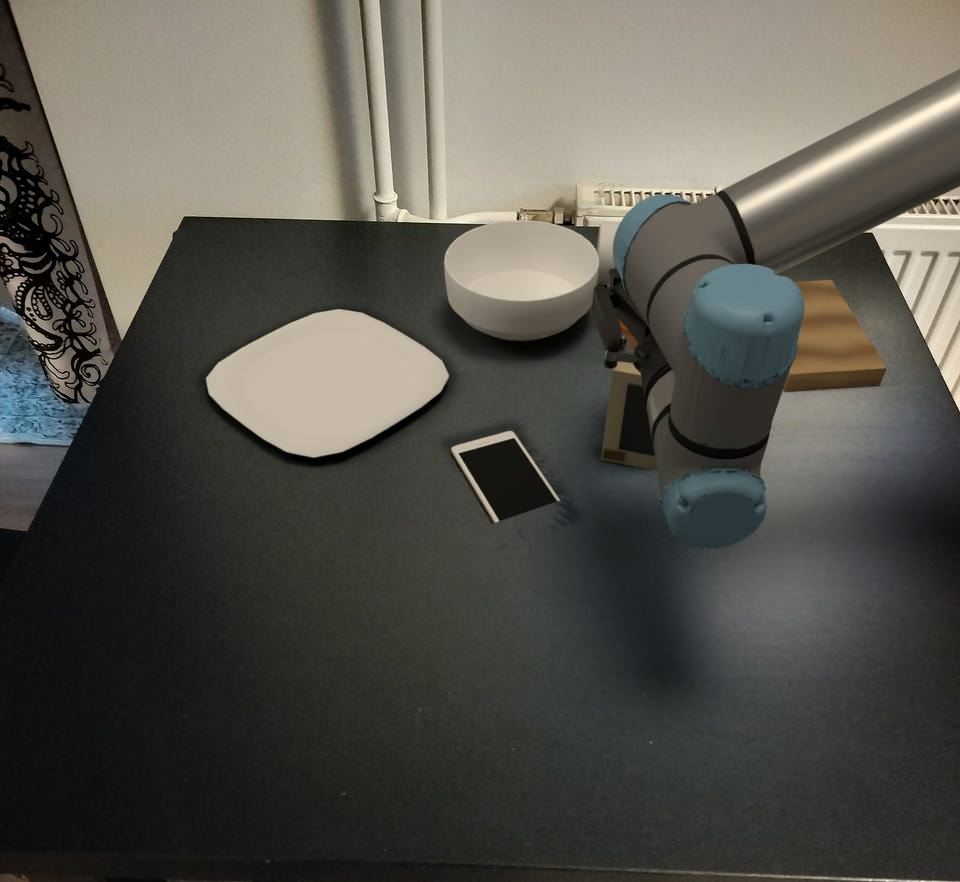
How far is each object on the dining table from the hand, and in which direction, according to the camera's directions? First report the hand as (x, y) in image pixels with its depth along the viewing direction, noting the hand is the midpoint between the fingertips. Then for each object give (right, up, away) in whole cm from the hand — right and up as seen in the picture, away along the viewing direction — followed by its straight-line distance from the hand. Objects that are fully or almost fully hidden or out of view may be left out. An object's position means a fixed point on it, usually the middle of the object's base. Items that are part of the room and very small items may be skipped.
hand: (659, 257), depth 90 cm
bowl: (-13, +4, +29) cm, 32 cm away
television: (+4, -17, +12) cm, 21 cm away
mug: (+3, +13, +35) cm, 38 cm away
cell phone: (-15, -22, +8) cm, 28 cm away
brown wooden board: (+24, 0, +25) cm, 35 cm away
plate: (-37, -8, +20) cm, 43 cm away
